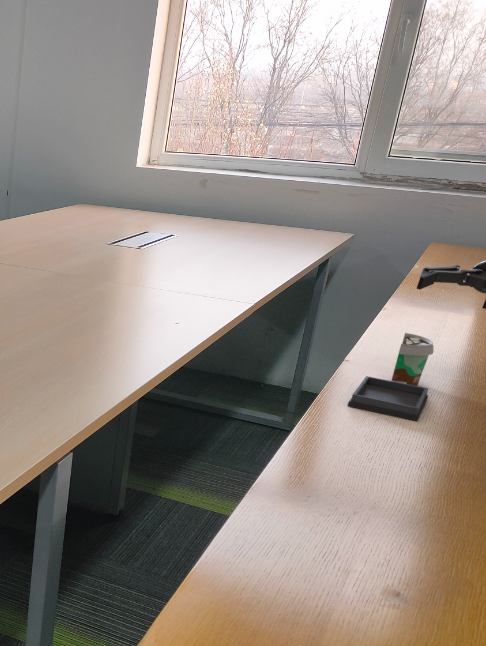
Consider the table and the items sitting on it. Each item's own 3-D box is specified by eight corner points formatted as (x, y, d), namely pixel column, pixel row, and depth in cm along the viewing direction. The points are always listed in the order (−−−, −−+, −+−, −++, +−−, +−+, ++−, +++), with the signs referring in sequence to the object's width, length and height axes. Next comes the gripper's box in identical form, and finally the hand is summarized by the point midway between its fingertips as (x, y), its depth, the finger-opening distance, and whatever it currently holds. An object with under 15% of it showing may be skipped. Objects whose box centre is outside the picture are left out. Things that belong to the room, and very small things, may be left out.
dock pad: (427, 399, 167) (430, 388, 166) (417, 421, 154) (420, 409, 154) (361, 386, 174) (364, 375, 173) (347, 406, 161) (350, 394, 160)
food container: (421, 395, 169) (434, 349, 166) (388, 389, 172) (401, 344, 169) (424, 380, 179) (437, 337, 175) (393, 374, 182) (405, 332, 178)
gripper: (549, 307, 177) (509, 328, 166) (432, 274, 194) (389, 291, 183) (564, 274, 173) (523, 293, 162) (443, 244, 190) (399, 259, 179)
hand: (452, 292), depth 172 cm, fingers open, 13 cm apart
